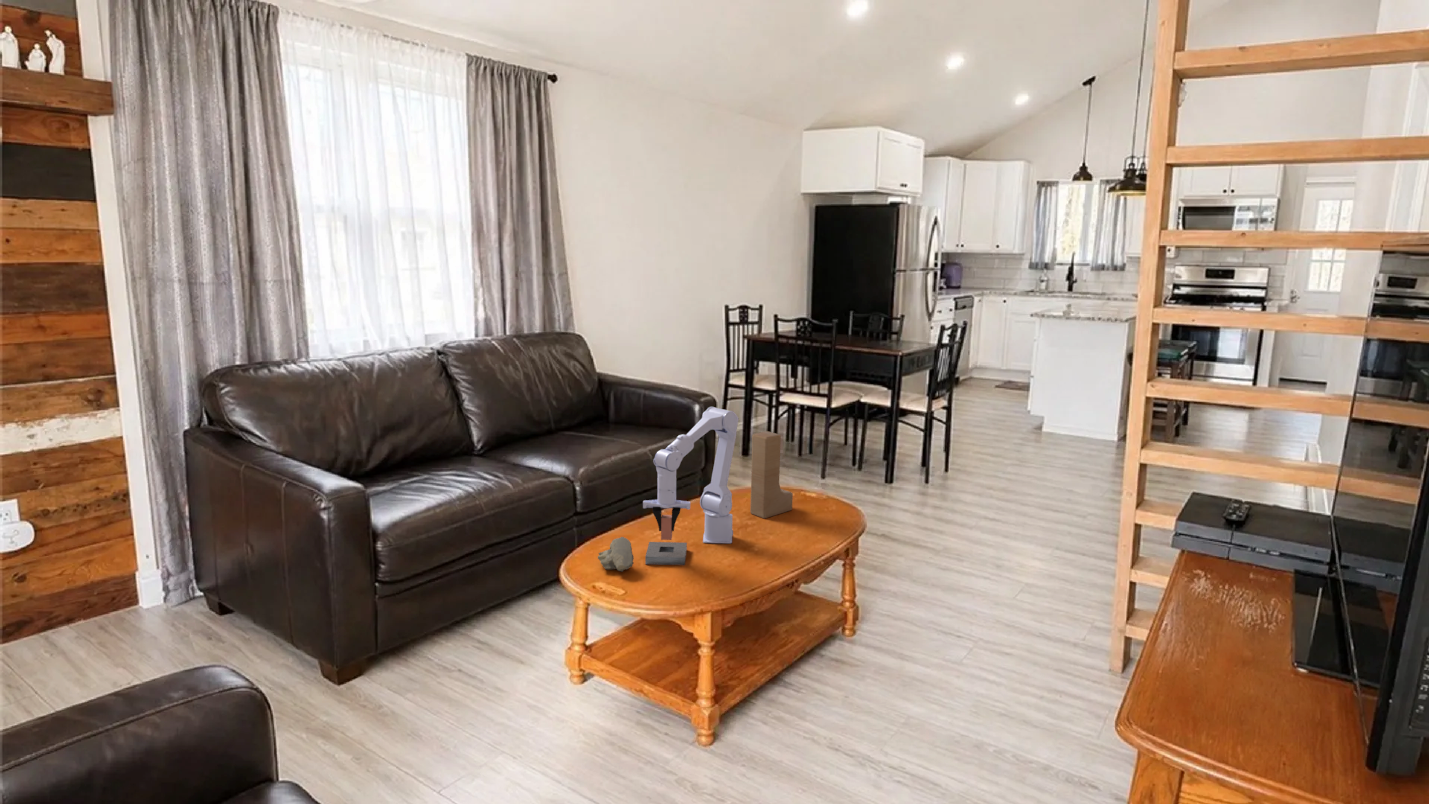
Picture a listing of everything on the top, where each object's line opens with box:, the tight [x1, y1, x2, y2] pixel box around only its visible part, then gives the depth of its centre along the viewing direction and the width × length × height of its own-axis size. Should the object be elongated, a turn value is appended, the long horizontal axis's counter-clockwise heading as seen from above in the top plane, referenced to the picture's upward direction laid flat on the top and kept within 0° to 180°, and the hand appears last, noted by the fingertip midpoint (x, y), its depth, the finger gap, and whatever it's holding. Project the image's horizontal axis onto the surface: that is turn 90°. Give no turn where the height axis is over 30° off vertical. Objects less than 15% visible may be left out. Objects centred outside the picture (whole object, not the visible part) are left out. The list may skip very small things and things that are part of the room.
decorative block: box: [750, 430, 794, 519], centre depth 294 cm, size 8×15×30 cm, turn 132°
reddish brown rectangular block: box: [660, 514, 673, 541], centre depth 253 cm, size 3×3×7 cm
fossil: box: [597, 536, 635, 572], centre depth 244 cm, size 14×10×10 cm
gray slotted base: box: [644, 541, 688, 566], centre depth 254 cm, size 12×12×2 cm
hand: (666, 530), depth 253 cm, fingers closed on reddish brown rectangular block, 3 cm apart
